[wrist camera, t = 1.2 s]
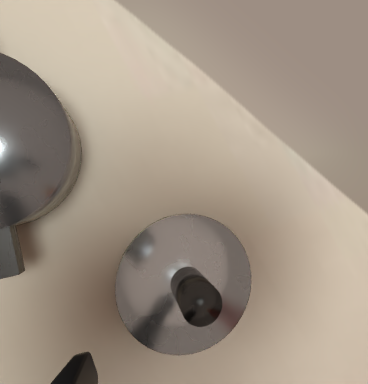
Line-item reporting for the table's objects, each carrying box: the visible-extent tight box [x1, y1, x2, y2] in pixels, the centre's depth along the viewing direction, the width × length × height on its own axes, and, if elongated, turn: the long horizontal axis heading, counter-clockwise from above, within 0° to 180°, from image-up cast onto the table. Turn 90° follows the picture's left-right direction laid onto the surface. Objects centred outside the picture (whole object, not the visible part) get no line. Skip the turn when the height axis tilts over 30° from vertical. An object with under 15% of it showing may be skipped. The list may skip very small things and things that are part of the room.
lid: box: [115, 214, 251, 355], centre depth 18 cm, size 11×11×5 cm
